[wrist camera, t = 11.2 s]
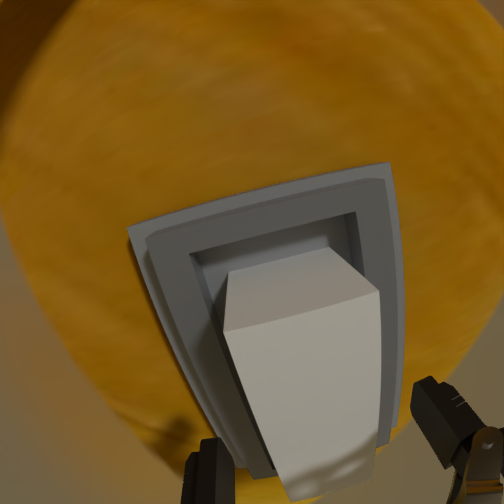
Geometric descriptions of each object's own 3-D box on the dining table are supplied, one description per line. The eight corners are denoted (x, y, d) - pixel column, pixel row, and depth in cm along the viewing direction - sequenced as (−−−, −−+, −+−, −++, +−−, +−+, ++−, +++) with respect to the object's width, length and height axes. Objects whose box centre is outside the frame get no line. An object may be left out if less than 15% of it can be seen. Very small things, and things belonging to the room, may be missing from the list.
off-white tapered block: (280, 439, 16) (290, 502, 11) (228, 272, 13) (223, 332, 8) (348, 421, 16) (371, 479, 11) (329, 246, 12) (379, 290, 8)
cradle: (237, 459, 18) (238, 484, 15) (134, 223, 13) (113, 235, 10) (391, 417, 17) (404, 439, 15) (380, 162, 12) (406, 161, 10)
